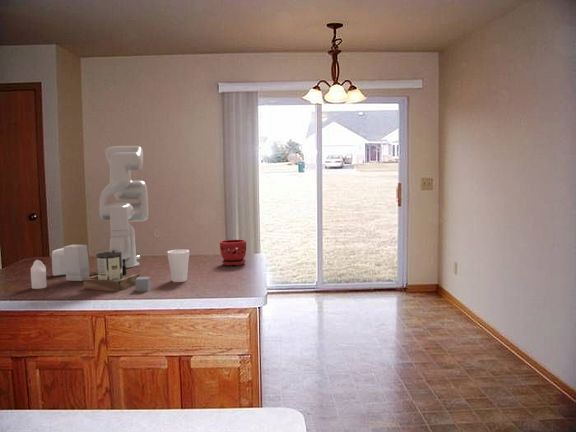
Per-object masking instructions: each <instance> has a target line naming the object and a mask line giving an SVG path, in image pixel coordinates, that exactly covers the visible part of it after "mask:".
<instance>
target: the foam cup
mask: <svg viewBox="0 0 576 432" xmlns="http://www.w3.org/2000/svg"><path fill="white" fill-rule="evenodd" d="M166 252H167V259H168V264H169V270H170V276H171V281H172V282H173V283H181V282H183V283H184V282H186V281H187V279H188V273H189V272H188V270H189V259H190V250H189V249H171V250H168V251H166Z"/></svg>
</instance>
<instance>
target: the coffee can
mask: <svg viewBox="0 0 576 432" xmlns="http://www.w3.org/2000/svg"><path fill="white" fill-rule="evenodd" d="M121 255H122V253H121V252H119V253H114V252H113V253H109V251H105V252H99V253H96V255H95V257H96V267H97V268H96V269H97V275H98V280H113V281H118V280H120V279H123V278H124V276H123V273H122V256H121Z"/></svg>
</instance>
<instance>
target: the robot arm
mask: <svg viewBox="0 0 576 432" xmlns="http://www.w3.org/2000/svg"><path fill="white" fill-rule="evenodd" d="M104 154H105V158H106V161H107V162H108V165H109V183H108V184H107V185H106V186H105V187H104V188H103V190H102V191H101V192H100V193H101V194H100V197H99V217H100V218H101V219H102V220H103V221H110V222H109V225H110V239H109V245H108V246H109V250H108V252H109V253H113V252H114V253H119V252H121V253H122V255H121V256H122V273H123V277H124V276H126V275H127V268H135V267H138V266H140V262H139V261H137V260H140V259H141V256H140V255H139V254H138V255H137V253H136V249H137V248H136V233H135V232H136V231H135V229H134V227H133V226H132V225H131V224H130V223H134V222H145V221H147V220H148V219H149V216H150V215H149V196H148V195H149V193H148V187H147V184H146V182H145V181H144V180H139V179H138V180H132V171H139V170H142V168H143V164H144V150H143V147H141V146H140V145H116V146H109V147H107V148H106V149H105V153H104ZM112 195H114V198H115V199H116V200H118V201H135V200H137V201H138V202H117V203H116V202H114V203H107V200H108V198H110V196H112Z"/></svg>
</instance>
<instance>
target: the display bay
mask: <svg viewBox="0 0 576 432" xmlns="http://www.w3.org/2000/svg"><path fill="white" fill-rule="evenodd" d="M138 277H141V274H140V273H135V274H132V275H128V276H127V277H123V279H120V280H118V281H113V280H98V274H96V275H92V276H90V277H89V278H86V279H83V281H82V282H83V289H84V290H95V291H107V292H108V291H109V292H110V291H111V292H120V291H123V290H125V289H126V290H127V288H131V287H133V286H136V281H135V279H136V278H138Z"/></svg>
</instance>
